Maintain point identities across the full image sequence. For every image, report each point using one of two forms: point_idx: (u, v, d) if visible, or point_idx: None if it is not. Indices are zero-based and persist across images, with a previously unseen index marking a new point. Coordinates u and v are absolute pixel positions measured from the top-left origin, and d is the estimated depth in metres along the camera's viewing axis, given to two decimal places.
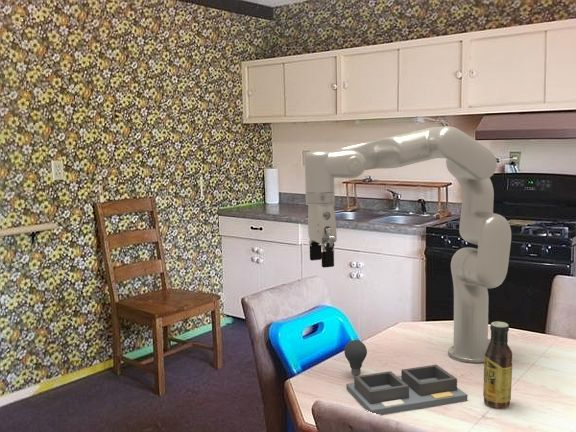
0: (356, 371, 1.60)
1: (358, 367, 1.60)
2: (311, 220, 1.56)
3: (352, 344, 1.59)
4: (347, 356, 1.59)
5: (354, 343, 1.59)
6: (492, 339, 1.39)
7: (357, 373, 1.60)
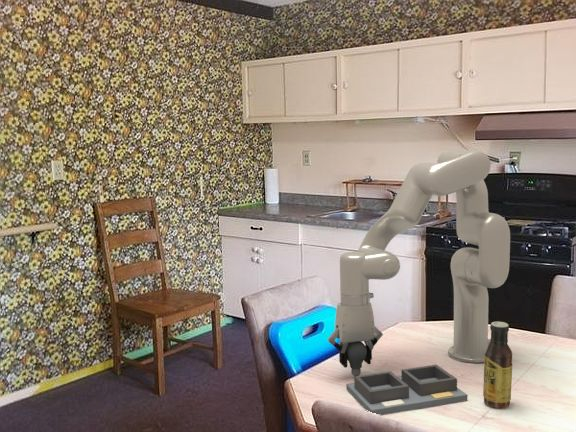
0: (356, 371, 1.60)
1: (358, 367, 1.60)
2: (358, 321, 1.57)
3: (352, 344, 1.59)
4: (347, 356, 1.59)
5: (354, 343, 1.59)
6: (492, 339, 1.39)
7: (357, 373, 1.60)
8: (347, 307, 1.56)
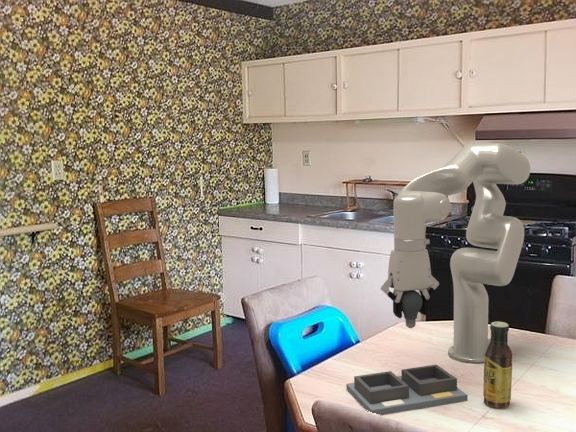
0: (411, 322, 1.50)
1: (413, 318, 1.50)
2: (413, 268, 1.47)
3: (407, 293, 1.49)
4: None
5: (408, 292, 1.49)
6: (492, 339, 1.39)
7: (412, 324, 1.50)
8: (402, 253, 1.46)
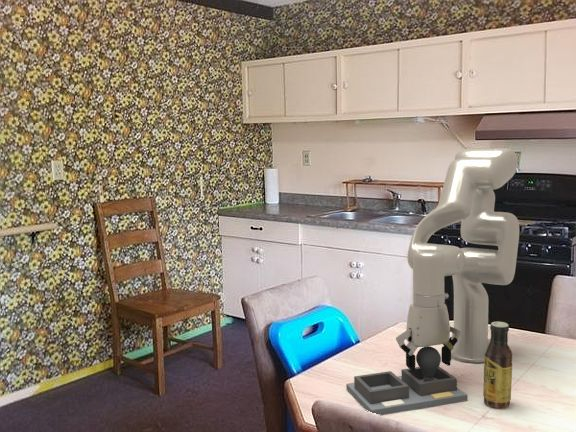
0: (429, 380, 1.49)
1: (432, 375, 1.49)
2: (433, 324, 1.46)
3: (426, 351, 1.48)
4: (420, 364, 1.48)
5: (427, 350, 1.48)
6: (492, 339, 1.39)
7: None
8: (422, 309, 1.45)
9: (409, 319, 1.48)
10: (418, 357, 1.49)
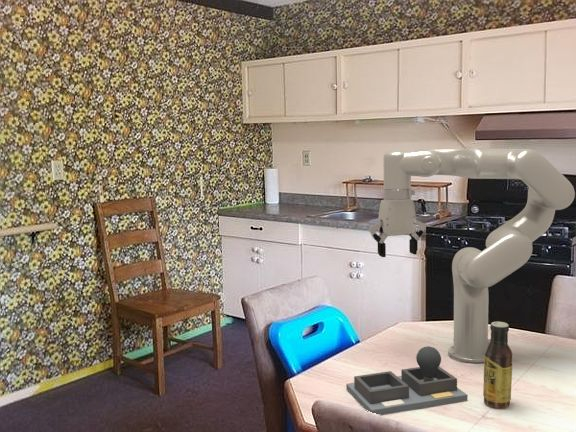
0: (429, 380, 1.49)
1: (432, 375, 1.49)
2: (401, 215, 1.67)
3: (426, 351, 1.48)
4: (420, 364, 1.48)
5: (427, 350, 1.48)
6: (492, 339, 1.39)
7: None
8: (391, 201, 1.66)
9: (380, 212, 1.68)
10: (418, 357, 1.49)
